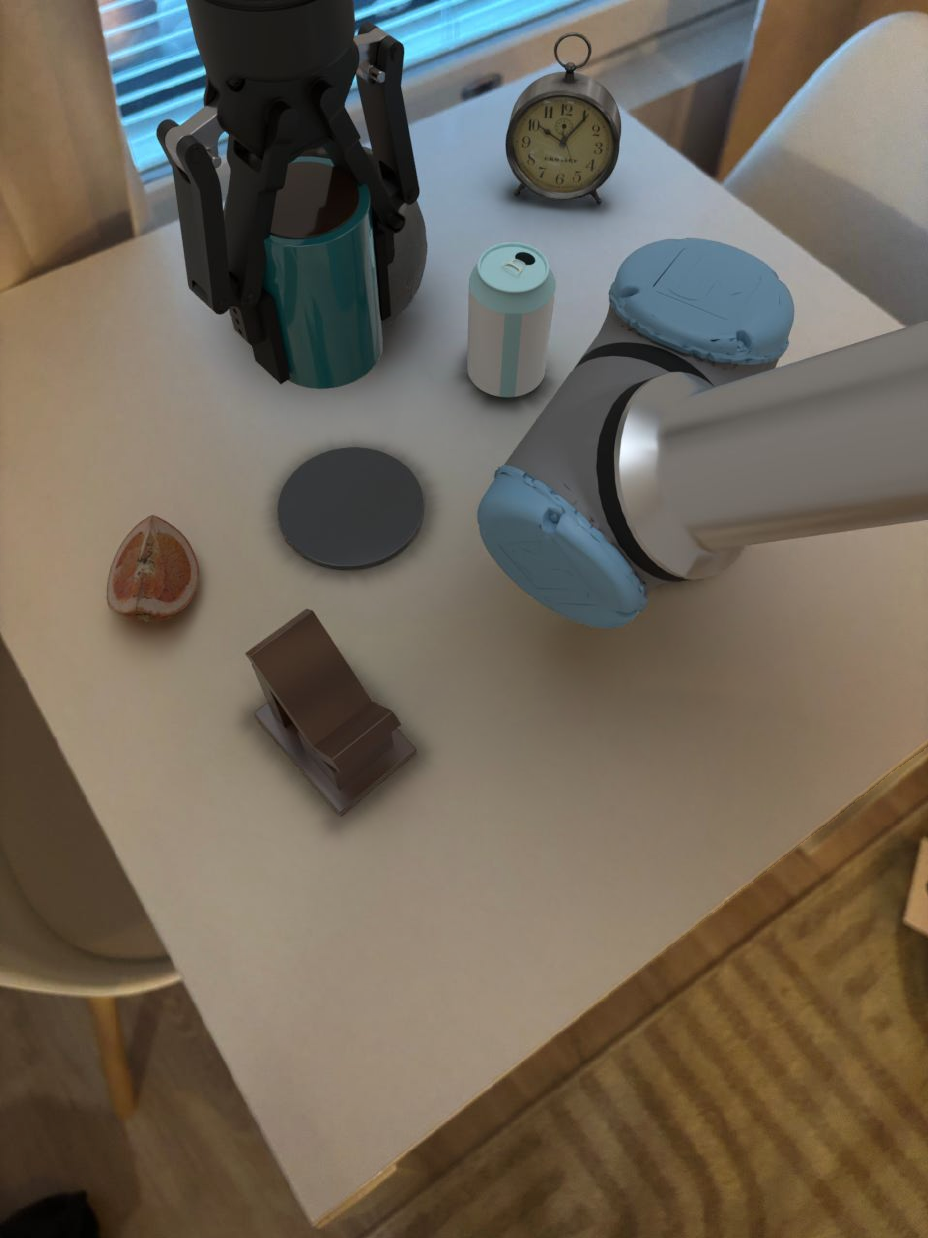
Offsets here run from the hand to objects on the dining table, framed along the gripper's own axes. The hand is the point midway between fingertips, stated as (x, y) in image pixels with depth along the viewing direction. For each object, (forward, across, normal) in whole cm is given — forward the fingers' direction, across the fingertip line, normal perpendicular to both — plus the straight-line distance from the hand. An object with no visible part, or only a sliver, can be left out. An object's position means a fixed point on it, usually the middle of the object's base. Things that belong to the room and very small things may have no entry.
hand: (324, 337), depth 61 cm
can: (+19, -20, -2) cm, 28 cm away
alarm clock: (+19, -41, -17) cm, 48 cm away
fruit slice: (+19, +16, -4) cm, 26 cm away
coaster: (+19, 0, 0) cm, 19 cm away
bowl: (+19, -13, -19) cm, 30 cm away
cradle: (+19, +14, +15) cm, 28 cm away
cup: (-5, 0, 0) cm, 5 cm away
